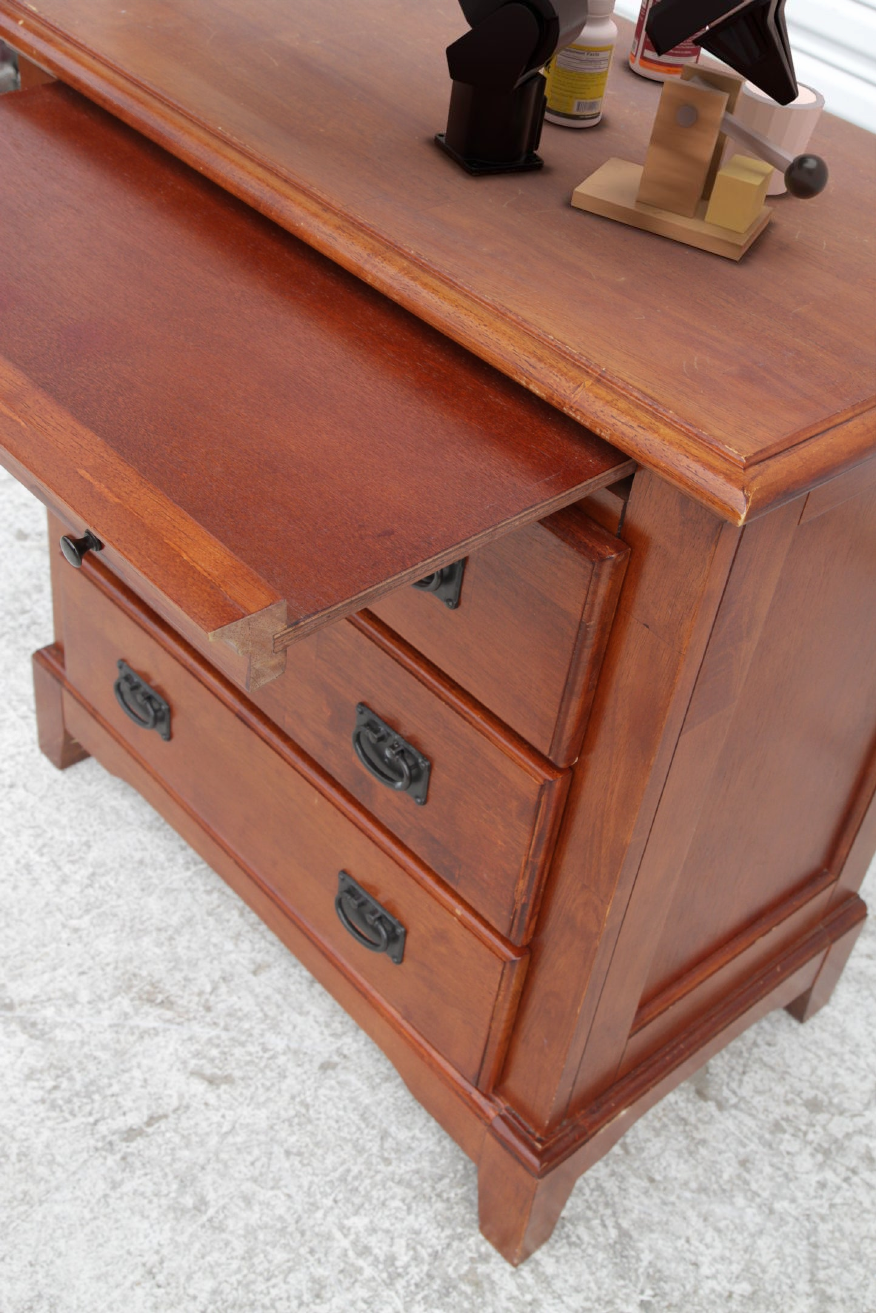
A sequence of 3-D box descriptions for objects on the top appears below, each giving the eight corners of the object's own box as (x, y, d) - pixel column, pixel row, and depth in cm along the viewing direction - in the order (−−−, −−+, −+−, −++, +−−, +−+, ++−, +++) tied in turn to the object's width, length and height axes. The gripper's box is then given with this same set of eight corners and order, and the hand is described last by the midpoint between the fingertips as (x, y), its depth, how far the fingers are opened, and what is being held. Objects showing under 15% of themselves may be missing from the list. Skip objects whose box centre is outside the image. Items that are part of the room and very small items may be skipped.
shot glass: (737, 154, 106) (763, 66, 101) (811, 184, 103) (841, 95, 99) (695, 174, 102) (720, 83, 97) (771, 206, 99) (800, 114, 94)
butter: (743, 234, 92) (758, 185, 89) (703, 221, 93) (717, 172, 90) (760, 213, 95) (775, 165, 92) (721, 201, 96) (735, 153, 93)
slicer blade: (816, 199, 92) (842, 163, 90) (806, 213, 90) (831, 176, 87) (678, 107, 92) (700, 69, 90) (665, 119, 90) (686, 80, 88)
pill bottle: (707, 82, 118) (742, -50, 111) (657, 88, 115) (689, -47, 108) (663, 57, 122) (694, -72, 114) (613, 62, 119) (642, -70, 111)
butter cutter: (768, 223, 97) (810, 89, 90) (737, 261, 91) (780, 122, 85) (609, 171, 100) (638, 39, 93) (570, 205, 94) (598, 67, 88)
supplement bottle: (548, 98, 110) (570, -26, 103) (608, 115, 109) (634, -10, 102) (526, 117, 106) (549, -11, 99) (588, 135, 105) (615, 7, 98)
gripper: (751, -189, 71) (873, 74, 76) (831, -223, 84) (931, 4, 89) (589, -67, 78) (710, 166, 83) (686, -116, 91) (786, 89, 96)
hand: (791, 101), depth 87 cm, fingers closed
